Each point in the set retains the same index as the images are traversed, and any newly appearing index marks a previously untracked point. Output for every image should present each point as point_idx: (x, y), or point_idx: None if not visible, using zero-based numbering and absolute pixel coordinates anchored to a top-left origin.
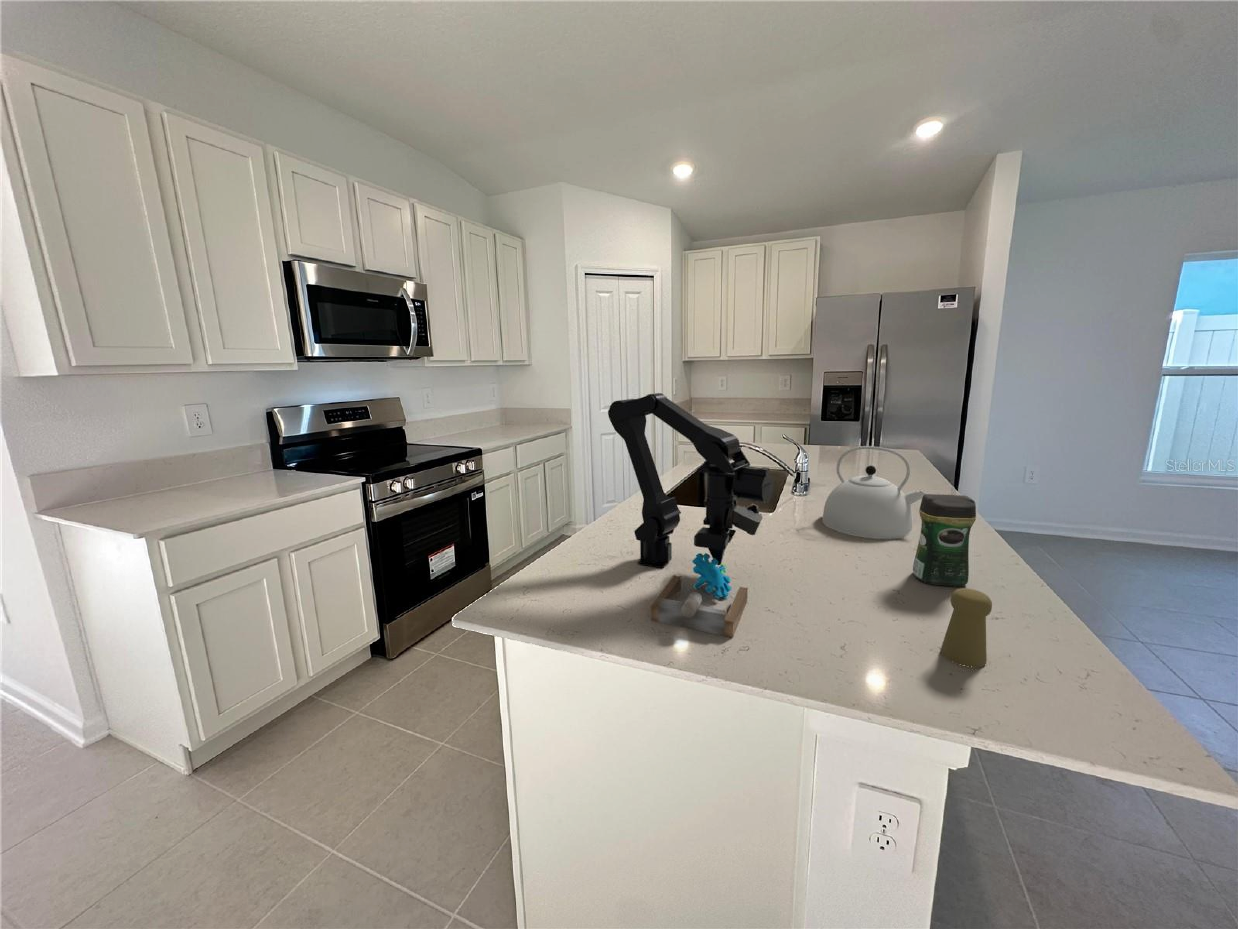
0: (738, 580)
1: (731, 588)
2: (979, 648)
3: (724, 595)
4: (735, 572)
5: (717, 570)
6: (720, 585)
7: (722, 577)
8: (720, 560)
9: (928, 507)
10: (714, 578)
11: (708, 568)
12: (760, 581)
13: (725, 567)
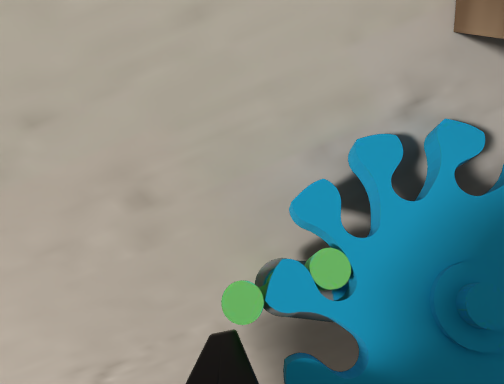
0: (151, 161)
1: (363, 139)
2: None
3: (477, 137)
4: (55, 222)
5: (383, 308)
6: (474, 201)
7: (382, 238)
8: (249, 367)
9: None
10: (497, 270)
11: (496, 370)
12: (43, 11)
13: (243, 288)
